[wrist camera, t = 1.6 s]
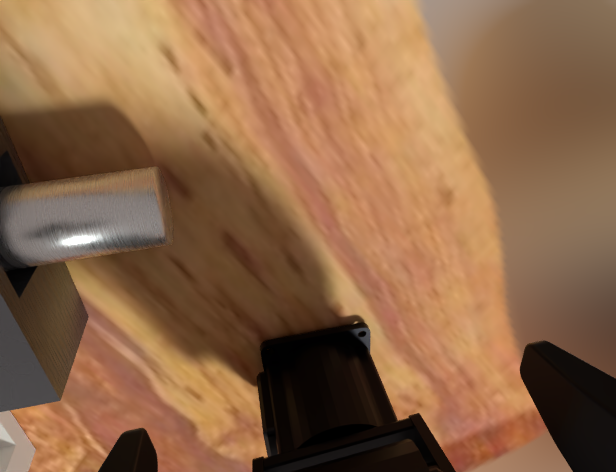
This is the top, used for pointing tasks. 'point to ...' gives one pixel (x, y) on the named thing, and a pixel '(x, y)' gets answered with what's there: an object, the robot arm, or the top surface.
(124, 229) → the axle
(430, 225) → the top surface
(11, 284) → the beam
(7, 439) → the cradle
